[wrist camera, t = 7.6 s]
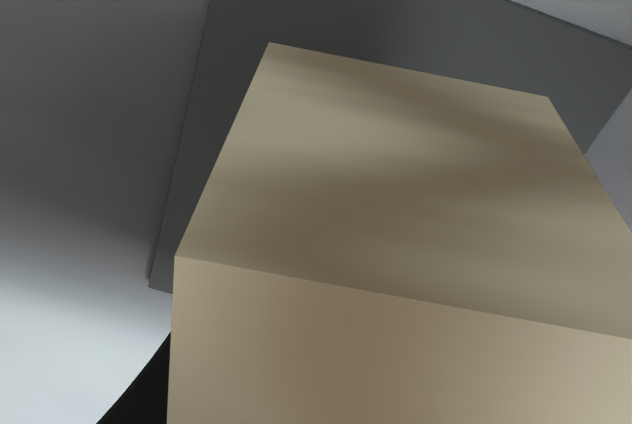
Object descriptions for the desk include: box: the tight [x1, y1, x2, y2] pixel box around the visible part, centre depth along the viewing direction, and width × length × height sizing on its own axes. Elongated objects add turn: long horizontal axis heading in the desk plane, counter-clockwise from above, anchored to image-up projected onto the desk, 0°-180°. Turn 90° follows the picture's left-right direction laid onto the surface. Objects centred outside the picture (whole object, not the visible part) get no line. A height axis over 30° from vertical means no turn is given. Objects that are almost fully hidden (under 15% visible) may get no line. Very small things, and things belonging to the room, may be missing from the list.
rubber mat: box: [148, 0, 632, 294], centre depth 17 cm, size 10×12×1 cm
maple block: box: [167, 42, 632, 424], centre depth 10 cm, size 5×9×6 cm, turn 170°
